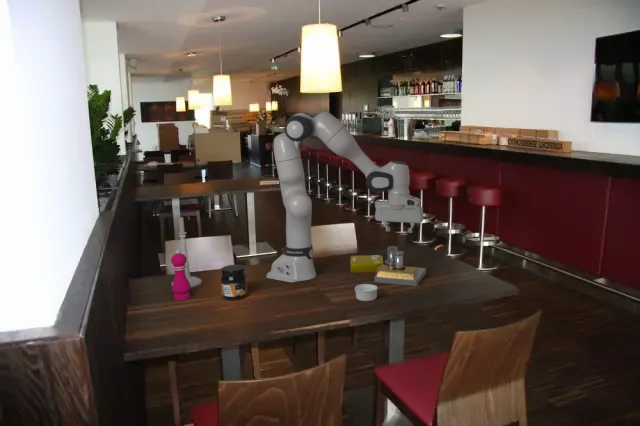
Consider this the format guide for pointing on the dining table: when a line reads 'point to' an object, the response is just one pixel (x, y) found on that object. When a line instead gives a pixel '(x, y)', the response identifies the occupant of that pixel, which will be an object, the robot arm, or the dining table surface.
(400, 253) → the steel pin
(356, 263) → the element tile
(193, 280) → the candlestick
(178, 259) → the pepper mill
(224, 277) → the supplement container
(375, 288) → the ramekin
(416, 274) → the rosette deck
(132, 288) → the dining table surface
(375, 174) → the robot arm
